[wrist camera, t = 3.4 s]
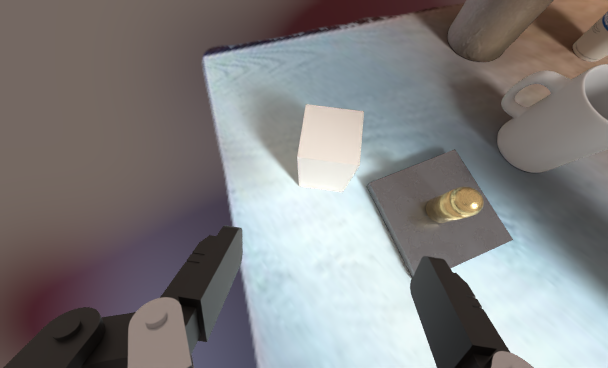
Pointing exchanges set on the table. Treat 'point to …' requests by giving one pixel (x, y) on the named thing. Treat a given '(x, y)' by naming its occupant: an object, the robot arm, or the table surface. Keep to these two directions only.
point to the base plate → (420, 227)
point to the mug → (556, 121)
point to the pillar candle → (491, 26)
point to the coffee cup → (593, 41)
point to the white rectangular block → (329, 147)
